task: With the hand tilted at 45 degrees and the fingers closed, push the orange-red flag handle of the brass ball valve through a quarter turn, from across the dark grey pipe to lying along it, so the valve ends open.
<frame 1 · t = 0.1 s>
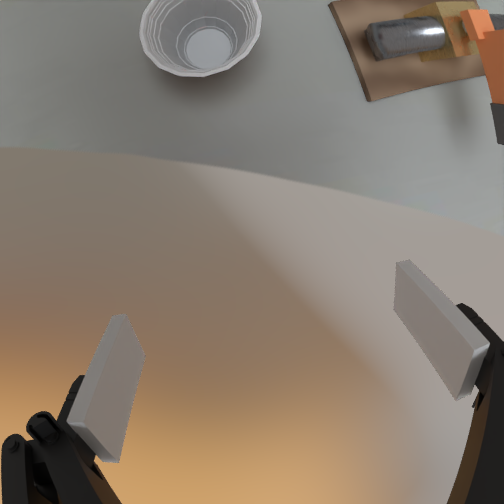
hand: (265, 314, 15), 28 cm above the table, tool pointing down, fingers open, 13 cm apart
plastic cup: (207, 47, 33), on the table
mounting board: (425, 37, 33), on the table
valve body: (447, 31, 28), on the mounting board, point 6 cm above the table
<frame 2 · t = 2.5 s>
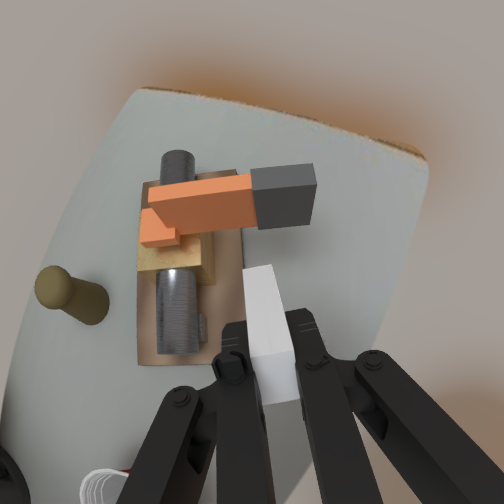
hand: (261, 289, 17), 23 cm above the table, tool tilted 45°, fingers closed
plastic cup: (160, 482, 33), on the table
valve lever: (219, 208, 29), point 14 cm above the table, hinge at 0.0°
cork: (92, 304, 42), on the table
mounting board: (190, 264, 42), on the table
valve body: (178, 249, 37), on the mounting board, point 6 cm above the table
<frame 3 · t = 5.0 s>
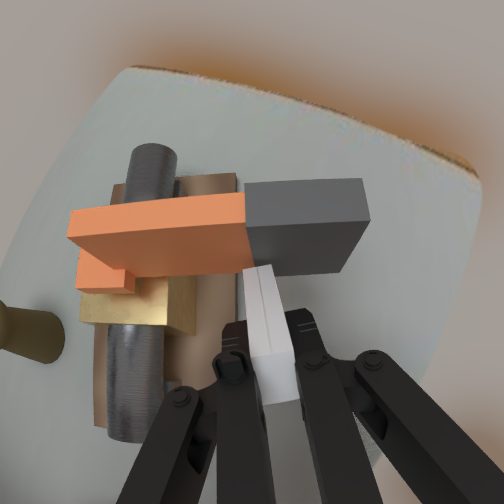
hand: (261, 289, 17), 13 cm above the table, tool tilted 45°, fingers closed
valve lever: (193, 245, 17), point 14 cm above the table, hinge at 1.0°, touching gripper
cork: (46, 337, 30), on the table
mounting board: (165, 301, 31), on the table
valve body: (144, 288, 26), on the mounting board, point 6 cm above the table
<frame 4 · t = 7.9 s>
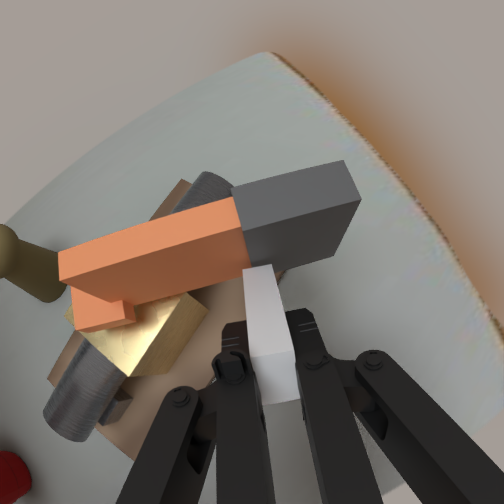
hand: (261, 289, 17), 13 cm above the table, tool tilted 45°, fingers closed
plastic cup: (16, 470, 25), on the table
valve lever: (187, 261, 17), point 14 cm above the table, hinge at 48.2°, touching gripper
cork: (50, 277, 33), on the table
mounting board: (163, 322, 30), on the table
valve body: (140, 314, 25), on the mounting board, point 6 cm above the table
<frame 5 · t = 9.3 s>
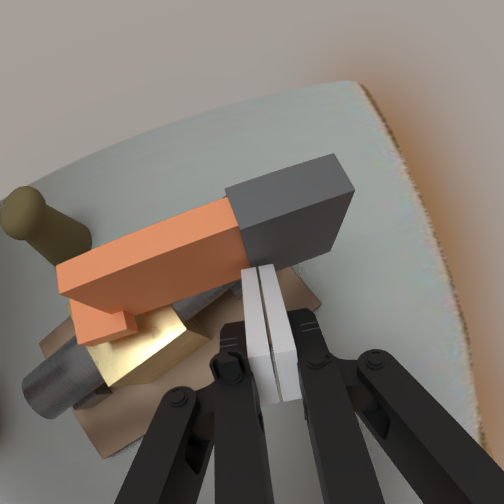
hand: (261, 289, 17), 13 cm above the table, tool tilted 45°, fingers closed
valve lever: (185, 266, 17), point 14 cm above the table, hinge at 71.8°, touching gripper
cork: (71, 247, 34), on the table
mounting board: (164, 332, 30), on the table
valve body: (141, 325, 24), on the mounting board, point 6 cm above the table
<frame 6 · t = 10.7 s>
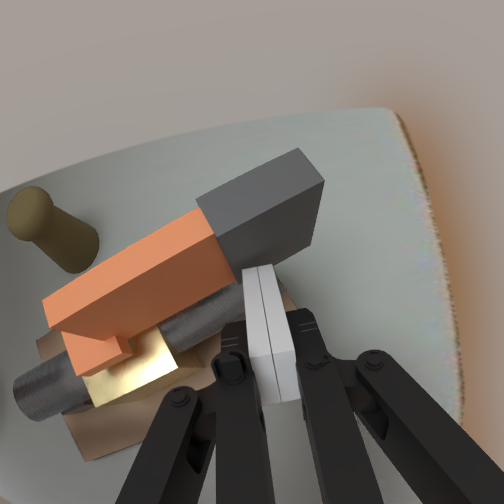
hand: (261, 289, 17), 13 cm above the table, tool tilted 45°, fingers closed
valve lever: (169, 282, 16), point 14 cm above the table, hinge at 89.3°, touching gripper
cork: (78, 249, 34), on the table
mounting board: (160, 351, 29), on the table
valve body: (136, 347, 24), on the mounting board, point 6 cm above the table
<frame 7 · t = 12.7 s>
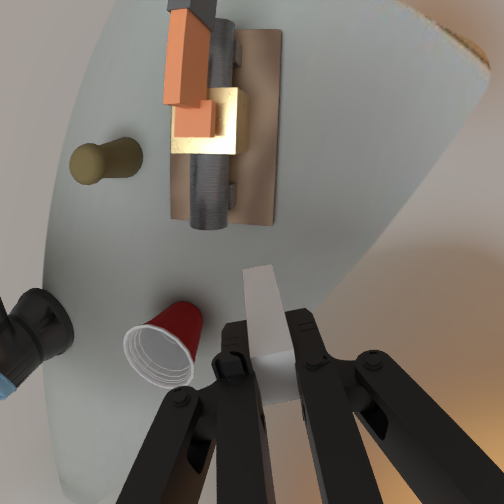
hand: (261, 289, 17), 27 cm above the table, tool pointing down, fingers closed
plastic cup: (185, 315, 51), on the table
valve lever: (191, 52, 25), point 14 cm above the table, hinge at 89.3°
cork: (125, 157, 44), on the table
mounting board: (224, 124, 40), on the table
valve body: (213, 122, 35), on the mounting board, point 6 cm above the table
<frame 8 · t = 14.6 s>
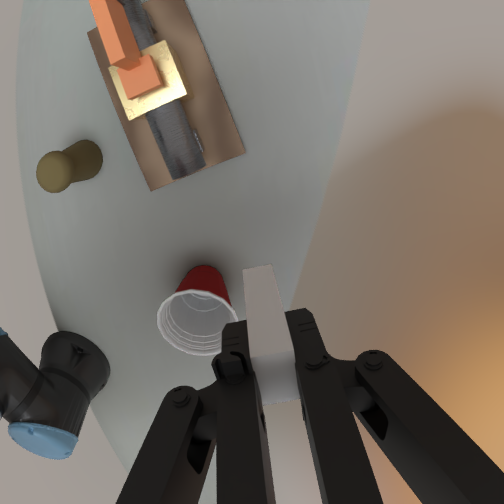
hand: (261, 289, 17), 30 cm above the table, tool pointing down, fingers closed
plastic cup: (203, 281, 51), on the table
valve lever: (115, 23, 23), point 14 cm above the table, hinge at 89.3°
cork: (85, 159, 42), on the table
mounting board: (163, 86, 39), on the table
valve body: (154, 82, 34), on the mounting board, point 6 cm above the table
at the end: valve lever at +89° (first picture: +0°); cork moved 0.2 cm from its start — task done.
